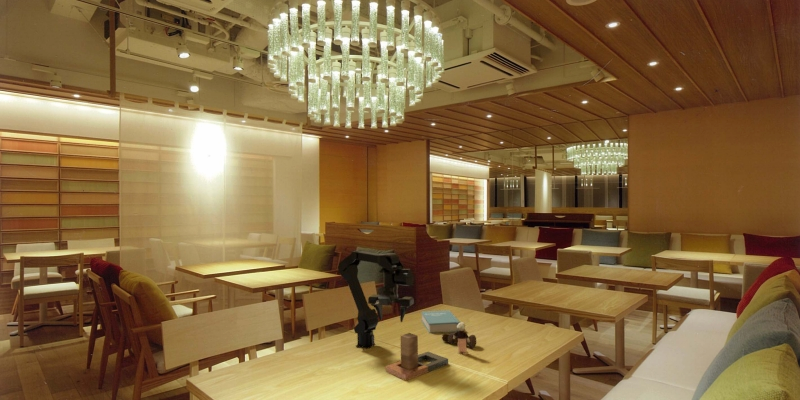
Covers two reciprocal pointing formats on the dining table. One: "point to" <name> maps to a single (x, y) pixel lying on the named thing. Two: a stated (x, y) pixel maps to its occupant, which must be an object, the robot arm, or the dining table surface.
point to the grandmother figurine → (461, 339)
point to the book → (440, 321)
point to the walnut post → (409, 351)
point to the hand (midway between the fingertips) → (391, 320)
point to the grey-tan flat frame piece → (421, 369)
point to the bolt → (450, 339)
